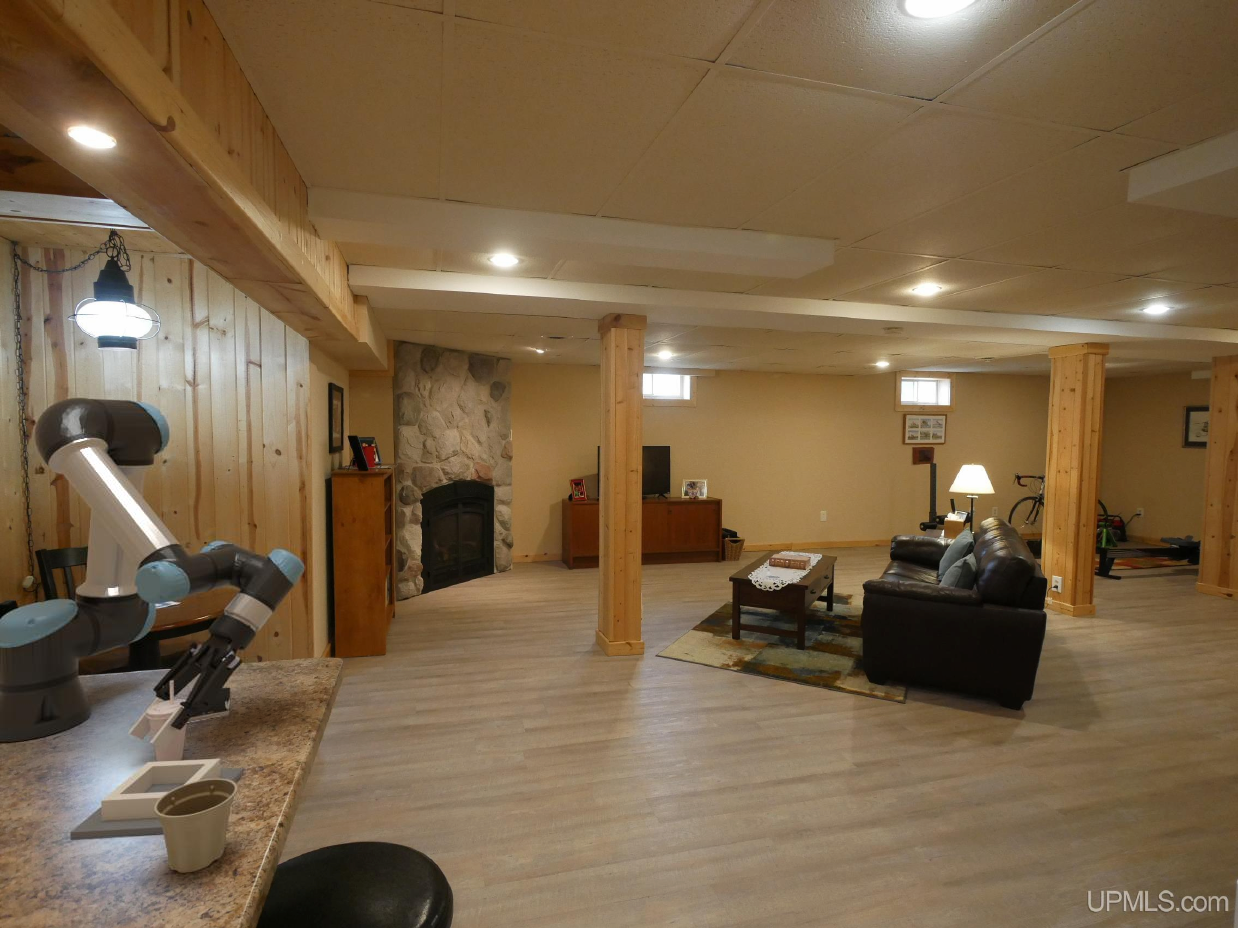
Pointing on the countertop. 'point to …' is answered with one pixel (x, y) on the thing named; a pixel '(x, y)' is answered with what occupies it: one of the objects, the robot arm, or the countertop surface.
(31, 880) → the countertop surface
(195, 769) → the socket
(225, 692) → the smartphone
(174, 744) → the smoothie
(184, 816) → the flower pot
